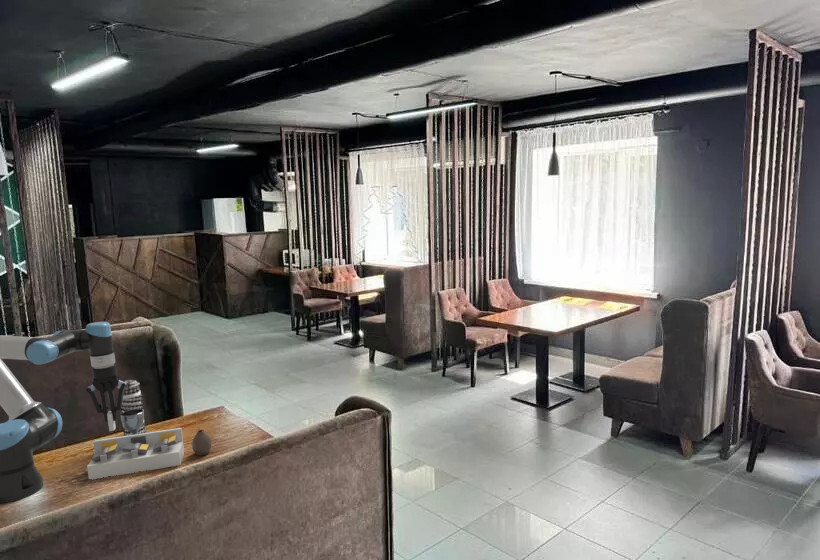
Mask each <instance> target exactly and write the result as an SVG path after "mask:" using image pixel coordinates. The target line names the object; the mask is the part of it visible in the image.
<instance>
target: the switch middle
mask: <svg viewBox="0 0 820 560" xmlns="http://www.w3.org/2000/svg"><path fill="white" fill-rule="evenodd" d="M148 449H149V444H140V443H136V444H133V443H126V444H125V446H124V447H123V451H122V452H131V450H138V453H147V451H148Z"/></svg>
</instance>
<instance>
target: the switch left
mask: <svg viewBox="0 0 820 560" xmlns="http://www.w3.org/2000/svg"><path fill="white" fill-rule="evenodd" d="M118 449H119V445H118V444H116V445H114V446H111V447H110V448H109V447H107V448H105V450H102V451H100V452H97V453H95V452H94V455H93V457H92V458H91V460H92V461H93V462H94V461H96V460H99V459H100V455H105V454H107V456H109V455H111V454H114V453H116V452H117V451H118Z"/></svg>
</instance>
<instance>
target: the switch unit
mask: <svg viewBox="0 0 820 560" xmlns="http://www.w3.org/2000/svg"><path fill="white" fill-rule="evenodd" d="M182 429H183V427H177V428H171V429H170V428H169V429H163V430H157V431H151V432H146V433H142V434H135V435H128V436H123V435H122V436H116V437H109V438H102V439H97V440H96V439H95V440H93V443H92V444H93V450H94V454H95V453H97V452H100V451H102V450H105V448H107V447H109V448H110V447H111V446H114V445H116V444H118V445H119V449H118V451H117V452H116V453H114V454H111V455H109V456H107V454H105V455H100V459H99V460H96V461H94V462H93V461H92V459H90V462H89V463H88V464H87V466H86V469H87V474H88V475H87V477H88V480H89V479H92V480H96V479H97V478H98V479H104V478H109V477H108V476H111V477H116V475H117V476H121V475H128V474H134V472H135V473H139V472H138V471H141V472H147V471H151V470H158V469H159V470H160V469H165V468H170V467H171V468H172V467H177V466H181V464H182V462H183V459H184V454H185V448H184V440H183V439H184V438H183V430H182ZM175 435H177V437H178V440H177V443H176V444H173V445H171V446H168V447H167V445H163V446H161V450H159V451H156V452H154V451H153V448H154V446H155V444H156V443H159V442H161V441H164V440H165V439H166V438H167V439H169V438H170V437H173V436H175ZM126 443H133V444H136V443H140V444H149V449H148V451H147V453H138V450H131V452H122V451H123V447H124V446H125V444H126ZM176 465H177V466H176ZM146 470H147V471H146ZM103 477H104V478H103Z"/></svg>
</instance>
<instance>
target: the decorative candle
mask: <svg viewBox="0 0 820 560" xmlns="http://www.w3.org/2000/svg"><path fill="white" fill-rule="evenodd" d="M122 381H123V380H122ZM123 382H127V384H126V386H125V388H124V394H123V402H122V407H121V409H120V410H119V414H121V413H122V412H124V411H127V410H131V409H143V413H144V411H145V410H144V408H145V407H144V402H142V401H143V400H144V398H143V396H144V395H143V393H141V389H140V382H138V381H137V380H135V379H127V380H124V381H123ZM116 387H117V388H118V390H119V389H120V387H119V385H117V386H116ZM116 401H118V398H117V399H116ZM121 428H122V433H123V435H122V436H128V435H132V434H131V433H130V432H129V431H128V430H126V429H125V428H124V426H123V425H122V427H121ZM146 428H147V426H146V421H145V420H144V421H143V425H142V427H141V428H140V429H139V431H138V433H137V434H142V433H147V429H146Z"/></svg>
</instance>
